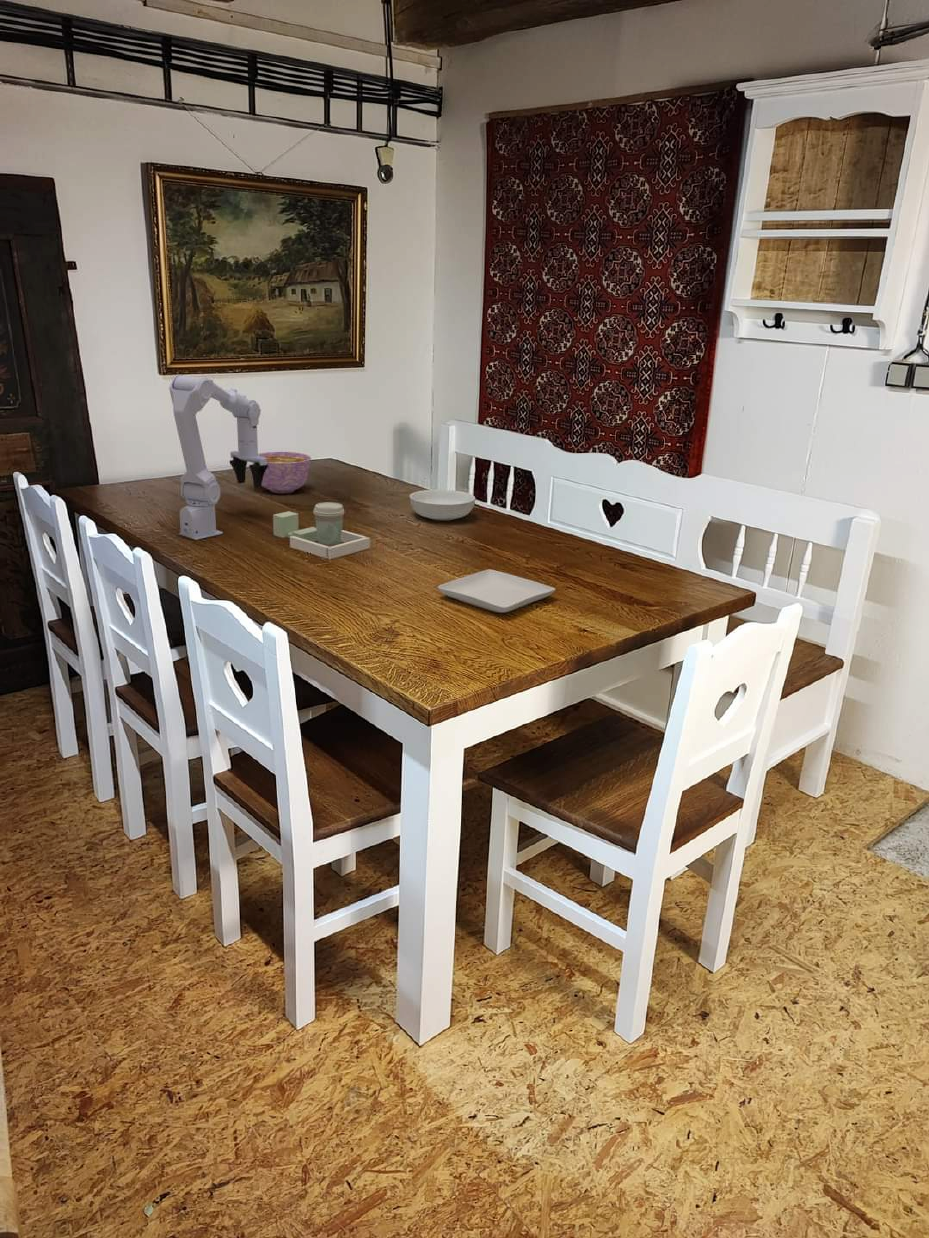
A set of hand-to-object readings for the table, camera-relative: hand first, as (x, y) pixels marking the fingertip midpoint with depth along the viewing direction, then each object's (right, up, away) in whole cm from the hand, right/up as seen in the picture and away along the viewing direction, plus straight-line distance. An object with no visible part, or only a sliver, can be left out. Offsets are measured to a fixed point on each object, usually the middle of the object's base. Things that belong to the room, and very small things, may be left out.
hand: (249, 485), depth 276 cm
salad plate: (+73, -36, -56) cm, 99 cm away
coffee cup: (+28, -21, -23) cm, 42 cm away
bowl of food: (+3, +3, +37) cm, 37 cm away
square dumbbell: (+17, -17, -15) cm, 29 cm away
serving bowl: (+58, -9, +14) cm, 60 cm away
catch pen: (+28, -21, -23) cm, 42 cm away
